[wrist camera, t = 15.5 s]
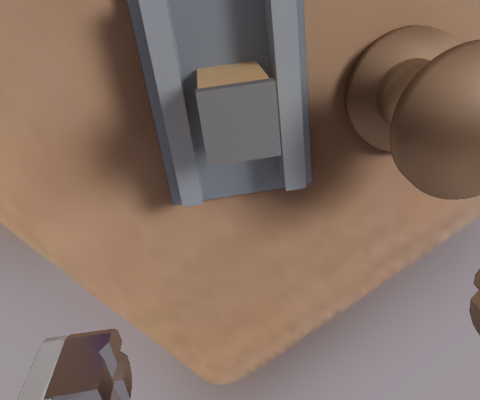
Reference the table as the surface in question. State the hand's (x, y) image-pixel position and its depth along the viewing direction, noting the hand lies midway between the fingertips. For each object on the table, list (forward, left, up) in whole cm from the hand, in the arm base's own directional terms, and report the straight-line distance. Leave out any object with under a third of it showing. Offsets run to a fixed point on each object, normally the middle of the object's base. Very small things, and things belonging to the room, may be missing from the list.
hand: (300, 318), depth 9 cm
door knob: (+2, +13, -23) cm, 27 cm away
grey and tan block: (0, 0, -22) cm, 22 cm away
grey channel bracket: (0, 0, -23) cm, 23 cm away
